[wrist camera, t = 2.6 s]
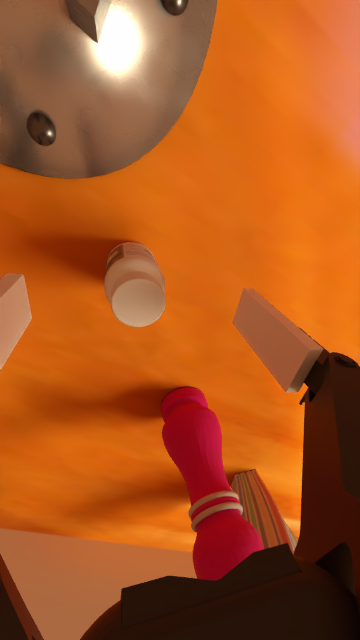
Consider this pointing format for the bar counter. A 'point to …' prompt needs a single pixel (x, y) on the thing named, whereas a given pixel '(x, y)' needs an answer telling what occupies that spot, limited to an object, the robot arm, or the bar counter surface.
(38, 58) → the flange plate
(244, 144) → the bar counter surface
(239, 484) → the vase
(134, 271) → the pill bottle
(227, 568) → the pepper mill
